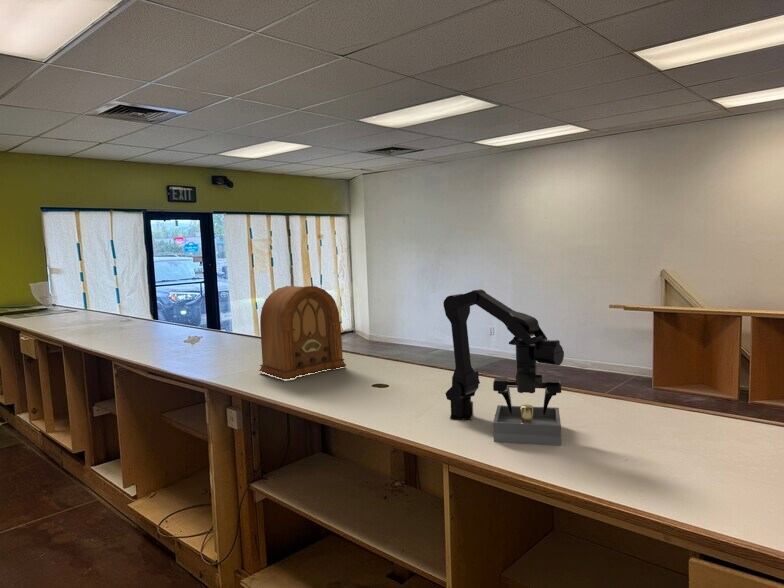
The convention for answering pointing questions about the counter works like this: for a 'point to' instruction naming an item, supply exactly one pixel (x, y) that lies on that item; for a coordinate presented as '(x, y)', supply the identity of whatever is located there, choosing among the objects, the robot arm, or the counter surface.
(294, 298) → the radio
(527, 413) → the brass peg
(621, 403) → the counter surface
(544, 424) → the tray
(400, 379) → the counter surface
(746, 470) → the counter surface
